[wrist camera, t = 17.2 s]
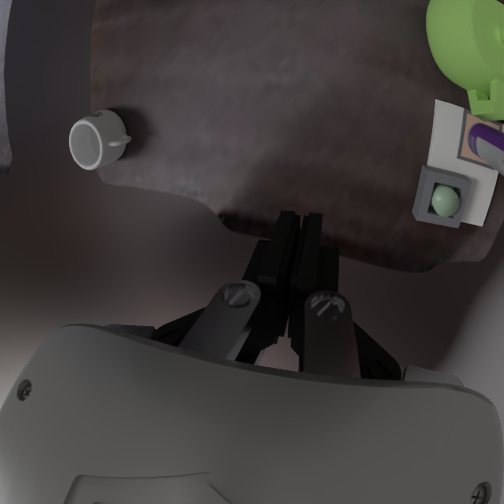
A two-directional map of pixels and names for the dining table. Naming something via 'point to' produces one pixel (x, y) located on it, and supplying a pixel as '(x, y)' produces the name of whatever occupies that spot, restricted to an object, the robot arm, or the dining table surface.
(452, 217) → the picture board
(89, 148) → the mug
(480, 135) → the container
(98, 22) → the dining table surface
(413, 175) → the dining table surface
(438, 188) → the button
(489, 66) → the teapot
